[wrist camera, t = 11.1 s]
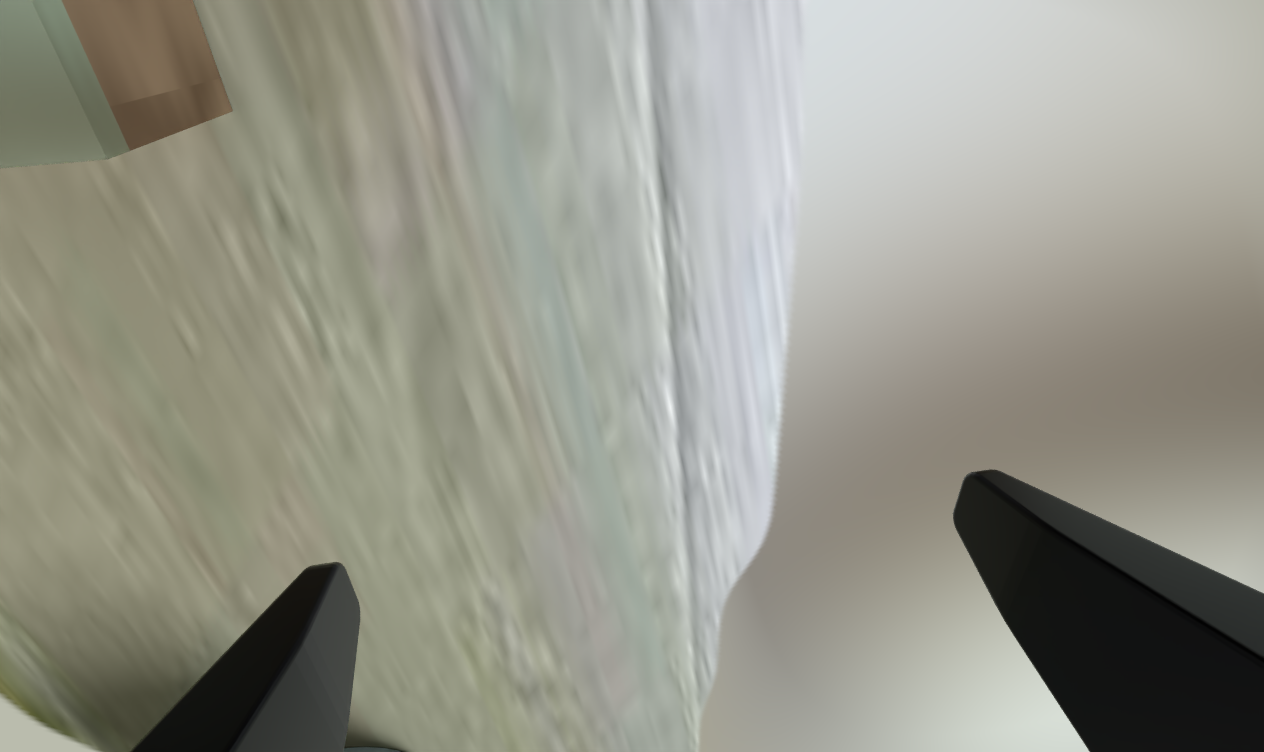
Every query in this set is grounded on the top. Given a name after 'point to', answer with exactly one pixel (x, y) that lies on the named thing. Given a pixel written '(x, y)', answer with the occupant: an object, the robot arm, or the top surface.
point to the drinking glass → (368, 749)
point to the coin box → (101, 77)
